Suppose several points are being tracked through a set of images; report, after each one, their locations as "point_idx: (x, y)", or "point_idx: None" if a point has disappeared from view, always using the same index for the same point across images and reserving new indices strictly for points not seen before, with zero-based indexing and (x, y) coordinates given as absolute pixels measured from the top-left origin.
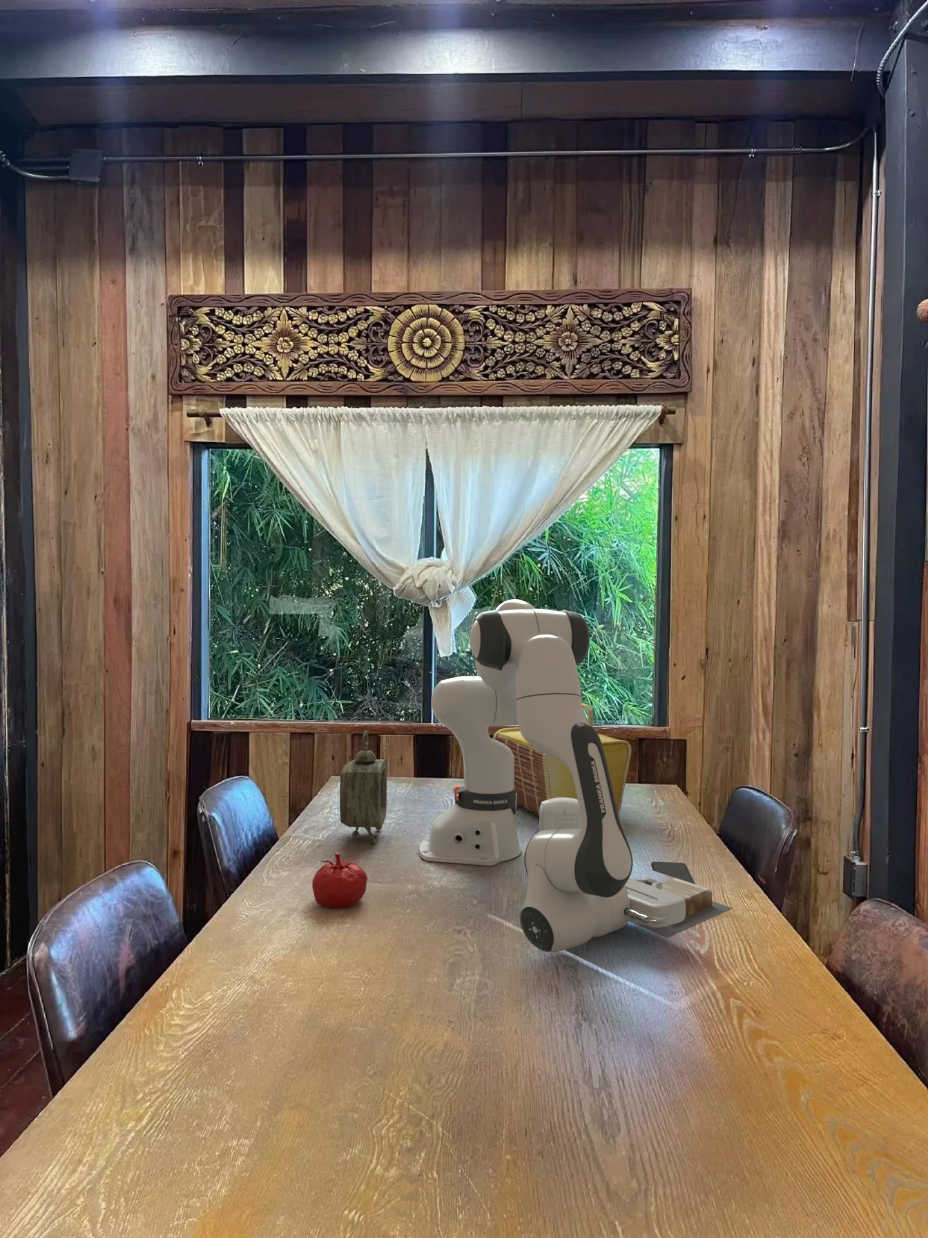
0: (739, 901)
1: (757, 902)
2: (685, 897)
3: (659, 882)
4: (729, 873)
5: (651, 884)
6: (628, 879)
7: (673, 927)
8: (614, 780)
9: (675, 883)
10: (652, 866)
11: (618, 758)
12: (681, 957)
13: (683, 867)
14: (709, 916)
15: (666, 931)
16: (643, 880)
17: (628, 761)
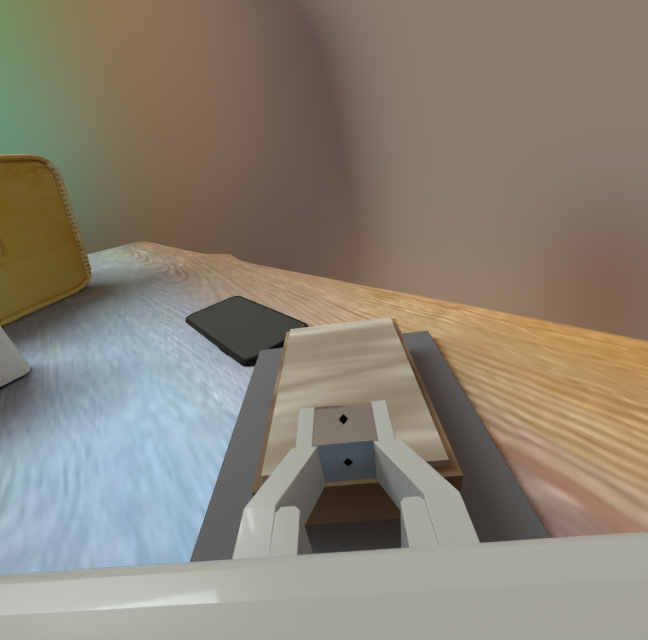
0: (392, 310)
1: (410, 298)
2: (409, 379)
3: (388, 410)
4: (305, 280)
5: (363, 449)
6: (269, 631)
7: None
8: (55, 228)
9: (313, 345)
10: (192, 324)
11: (42, 189)
12: None
13: (242, 301)
14: (451, 384)
15: None
16: (311, 456)
17: (65, 193)
